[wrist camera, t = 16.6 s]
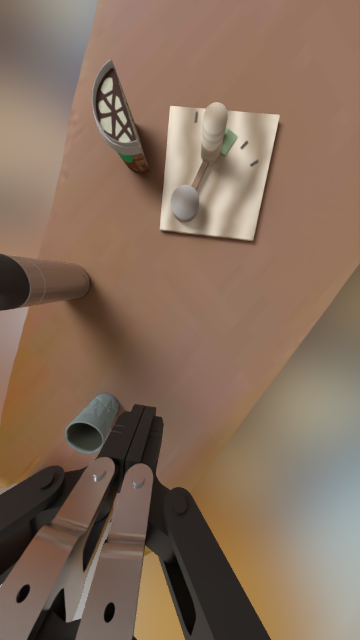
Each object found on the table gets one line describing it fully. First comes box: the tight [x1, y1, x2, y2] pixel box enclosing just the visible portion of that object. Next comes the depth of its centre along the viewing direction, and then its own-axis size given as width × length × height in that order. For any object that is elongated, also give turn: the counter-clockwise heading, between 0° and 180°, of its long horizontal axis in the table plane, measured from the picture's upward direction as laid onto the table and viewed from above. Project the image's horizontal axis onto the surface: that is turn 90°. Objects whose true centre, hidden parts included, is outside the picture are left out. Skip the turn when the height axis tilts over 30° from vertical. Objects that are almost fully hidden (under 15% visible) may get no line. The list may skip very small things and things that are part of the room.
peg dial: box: [171, 102, 228, 222], centre depth 32 cm, size 18×6×8 cm, turn 152°
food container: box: [92, 59, 149, 173], centre depth 33 cm, size 12×6×10 cm, turn 18°
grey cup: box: [65, 393, 119, 453], centre depth 49 cm, size 10×10×12 cm
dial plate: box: [160, 106, 280, 241], centre depth 37 cm, size 22×23×1 cm
